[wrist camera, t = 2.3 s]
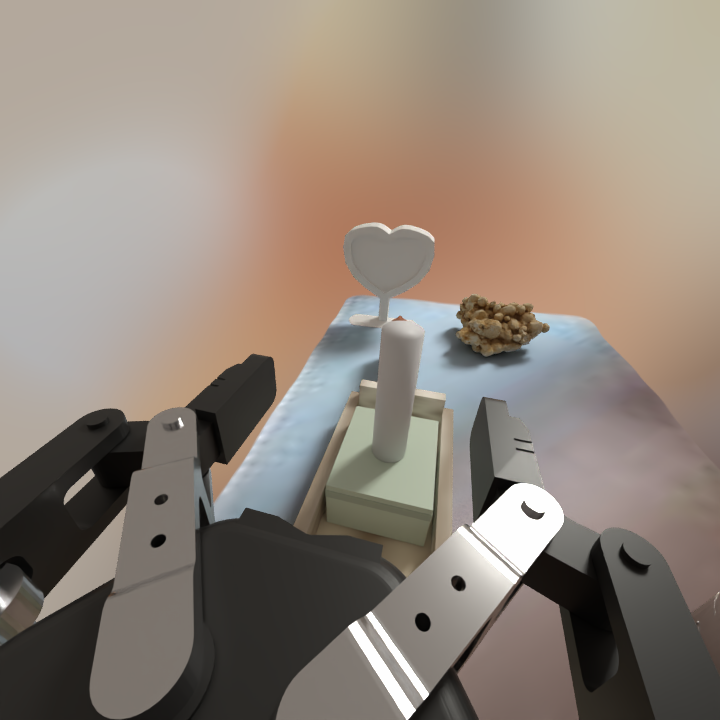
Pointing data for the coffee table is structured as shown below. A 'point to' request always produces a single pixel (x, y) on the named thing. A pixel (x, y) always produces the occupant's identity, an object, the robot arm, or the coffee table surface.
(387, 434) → the green block with post
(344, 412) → the bay
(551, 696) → the coffee table surface
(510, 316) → the mineral formation
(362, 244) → the heart sculpture
